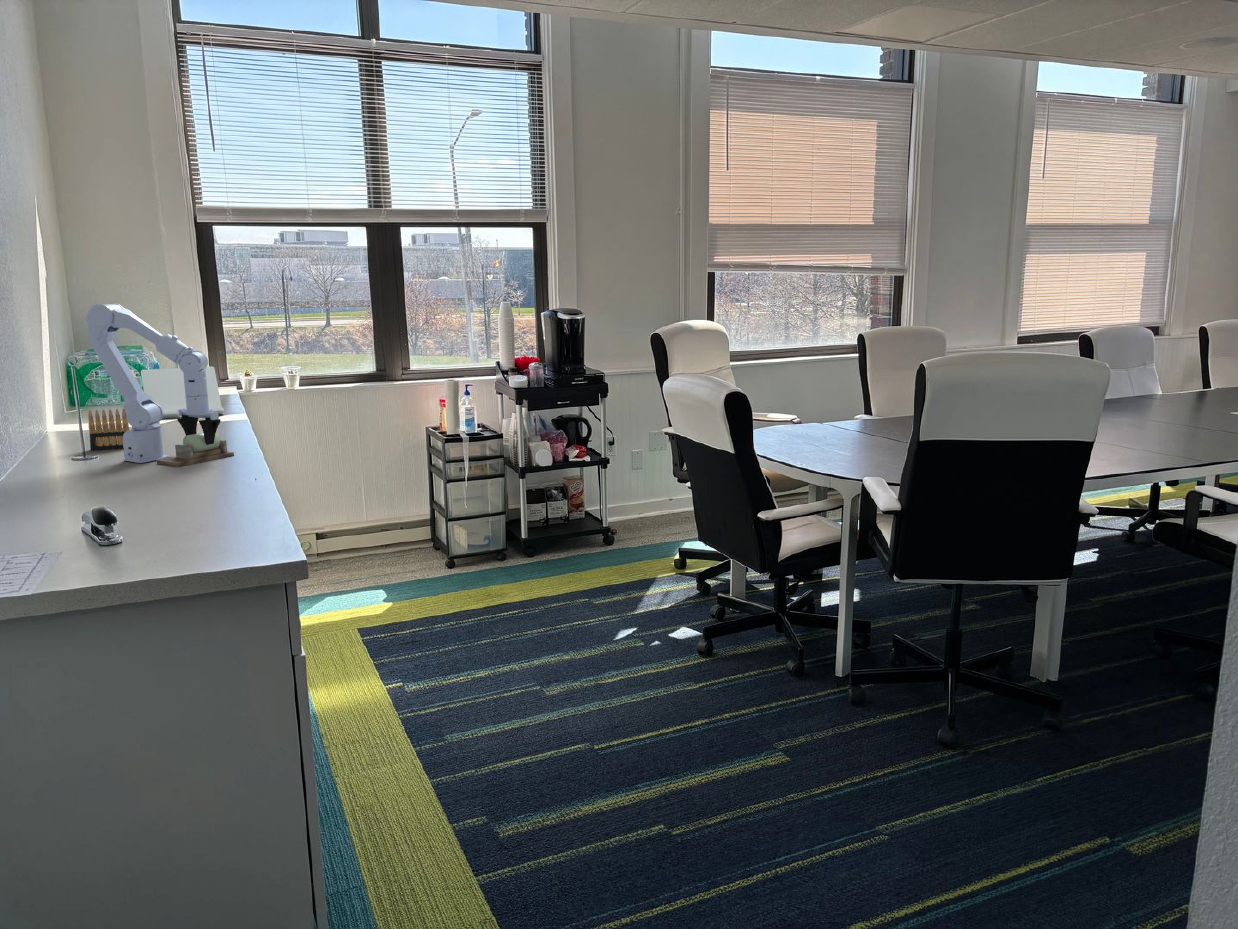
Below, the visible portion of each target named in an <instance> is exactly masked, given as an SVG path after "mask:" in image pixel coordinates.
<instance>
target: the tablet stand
mask: <svg viewBox="0 0 1238 929" xmlns="http://www.w3.org/2000/svg"><path fill="white" fill-rule="evenodd" d="M204 370H205V371H206V380H207V391H208V403H209V409H212V411H214V412H218V416H220V414H222V415H224V413H225V410H224V407H222V402H221V396H220V390H219V385H218V379H217V375H216V370H215V367H214V366H207V367H206V369H204ZM140 377H141V382H142V390H143V391H144V392H145V393H146V394H148V395H149V396H150V397H151V398H152V400H153V401H154V402H155V403H157V404H158V405H159V406H160V407H161V408H162V410H163V417H162V419H176V418H177V419H178V418H181V417H182V416H179V411H178V409H187V407H186V397H185V386H184V373H183V371H182V370H181V369H180V367H175V368H154V369H152V368H151V369H142V370H140ZM199 416H201V415H199ZM162 419H161V420H162Z"/></svg>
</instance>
